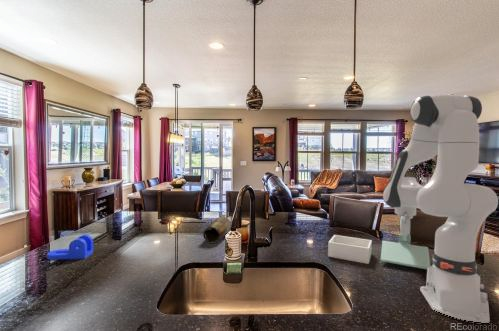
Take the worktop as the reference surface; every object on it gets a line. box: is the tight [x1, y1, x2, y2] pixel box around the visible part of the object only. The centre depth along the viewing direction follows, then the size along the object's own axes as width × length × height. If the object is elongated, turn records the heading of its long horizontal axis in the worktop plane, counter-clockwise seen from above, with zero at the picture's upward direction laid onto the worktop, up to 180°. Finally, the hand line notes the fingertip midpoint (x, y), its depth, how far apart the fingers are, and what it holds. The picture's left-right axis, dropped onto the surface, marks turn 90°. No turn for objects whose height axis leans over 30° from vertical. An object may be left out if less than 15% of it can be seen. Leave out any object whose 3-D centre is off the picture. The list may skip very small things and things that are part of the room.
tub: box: [327, 234, 373, 265], centre depth 132 cm, size 14×18×7 cm
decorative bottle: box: [202, 213, 234, 245], centre depth 168 cm, size 11×11×45 cm
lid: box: [380, 232, 431, 270], centre depth 123 cm, size 18×19×5 cm
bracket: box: [46, 234, 94, 261], centre depth 128 cm, size 18×8×9 cm, turn 96°
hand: (404, 239), depth 129 cm, fingers closed on lid
